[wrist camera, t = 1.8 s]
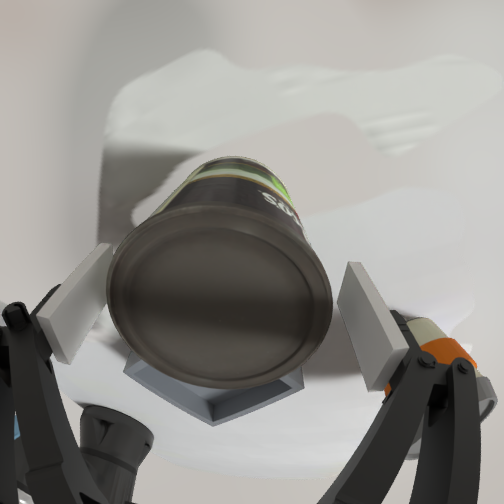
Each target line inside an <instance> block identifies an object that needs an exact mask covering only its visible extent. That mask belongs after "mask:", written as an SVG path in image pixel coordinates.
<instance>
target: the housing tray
mask: <svg viewBox="0 0 504 504" xmlns="http://www.w3.org/2000/svg"><path fill="white" fill-rule="evenodd" d="M123 373H125V374H126V375H128V376H129V377H130V378H132V379H133V380H135V381H136V382H138V383H139V384H141V385H142V386H144V387H145V388H147V389H148V390H150V391H151V392H153V393H155V394H156V395H158V396H159V397H161V398H163V399H164V400H166V401H168V402H169V403H171V404H173V405H174V406H176V407H178V408H179V409H181V410H183V411H185V412H186V413H188V414H190V415H192V416H194V417H196V418H197V419H199V420H201V421H203V422H205V423H207V424H209V425H211V426H216V425H219V424H222V423H225V422H227V421H230V420H233V419H235V418H238V417H241V416H243V415H246V414H248V413H251V412H253V411H255V410H258V409H260V408H263V407H265V406H267V405H270V404H272V403H274V402H276V401H279V400H281V399H283V398H285V397H287V396H289V395H291V394H294V393H296V392H298V391H300V390H302V389H304V388H305V387H304V381H303V375H302V369H301V366H300V367H299V368H297V369H296V370H295V371H293V372H291V373H290V374H288V375H286V376H284V377H282V378H280V379H278V380H275V381H272V382H270V383H267V384H264V385H260V386H256V387H251V388H245V389H232V390H223V389H212V388H206V387H199V386H195V385H191V384H187V383H184V382H181V381H179V380H176V379H173V378H171V377H169V376H167V375H165V374H163V373H161V372H159V371H158V370H156V369H154V368H153V367H151V366H150V365H148V364H147V363H146V362H144V361H143V360H142V359H141V358H139V357H138V356H137V355H136V354H135V353H134V352H133V351H131V353H130V355H129V358H128V360H127V363H126V365H125V368H124V370H123Z"/></svg>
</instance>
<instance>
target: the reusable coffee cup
mask: <svg viewBox="0 0 504 504" xmlns="http://www.w3.org/2000/svg"><path fill="white" fill-rule="evenodd" d="M406 323H407V325H408V327H409V328H410V331H411V332H412V334H413V335H414V337H415V339H416V341H417V343H418V344H419V346H420V348H421V350H422V351H426V352H429V353H430V354H432V355H433V356H434V357H435V358H436V359H437V362H438V363H442V364H449V365H450V364H451V363H452V362H453V360H454V359H455V358H457V357H463V358H465V359H467V360H468V361H470V362H471V363H472V365H473V366H474V369H475V374H476V382H477V390H478V399H479V411H480V424H481V423H482V422H483V421H484V420H485V419H486V418H487V417H488V415H489V414H490V413H491V412H492V411H493V409H494V408H495V406H496V404H497V396H496V394H495V392H494V389H493V387H492V385H491V382H490V380H489V379H488V378H487V377H484V376H482V375H481V374H480V372H479V371H478V370H477V364H476V363H475V361H474V360H473V359H472V358H471V357H470V356H469V354H468V353H467V352H466V351H465V350H464V349H463V348H462V347H461V346H460V345H459V344H458V342H457V341H456V340H455V339H452V338H448V337H447V336H446V334H445V333H444V332H443V331H442V330H441V329H440V328H439V327H438V326H437V325H436V324H435V323H434V322H433V321H432V320H430V319H428V318H417V319H413V320H411V321H408V322H406ZM390 390H391V387H390V384H389V383H388V384H387V386H386V387H385V389H384V391H385V396H387V395H388V393H389V392H390ZM423 420H424V414H423V417H422V420H421V422H420V425H419V428H418V430H417V433H416V435H415V437H414V440H413V442H412V445H411V447H410V449H409V451H408V454H407V456H406V458H405V460H415V459H419V453H420V446H421V438H422V430H423Z"/></svg>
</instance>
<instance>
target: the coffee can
mask: <svg viewBox="0 0 504 504" xmlns="http://www.w3.org/2000/svg"><path fill="white" fill-rule="evenodd" d="M106 298H107V305H108V309H109V313H110V316H111V318H112V321H113V323H114V325H115V327H116V329H117V331H118V332H119V334H120V336H121V337H122V338H123V340H124V341H125V343H126V344H127V345H128V346H129V348H130V349H131V350H132V351H133V352H134V353H135V354H136V355H137V356H138V357H139V358H141V359H142V360H143V361H144V362H146V363H147V364H148V365H150V366H151V367H153V368H154V369H156V370H158V371H159V372H161V373H163V374H165V375H167V376H169V377H171V378H173V379H176V380H179V381H181V382H184V383H187V384H191V385H195V386H199V387H206V388H212V389H223V390H232V389H245V388H251V387H256V386H260V385H264V384H267V383H270V382H272V381H275V380H278V379H280V378H282V377H284V376H286V375H288V374H290V373H291V372H293V371H295V370H296V369H297V368H299V367H300V366H302V365H303V364H304V363H305V362H306V361H307V360H308V359H310V357H311V356H312V355H313V354H314V353H315V351H316V350H317V349H318V347H319V346H320V344H321V343H322V341H323V339H324V337H325V335H326V333H327V331H328V328H329V326H330V322H331V319H332V311H333V298H332V291H331V286H330V283H329V279H328V277H327V274H326V272H325V270H324V267H323V265H322V263H321V261H320V260H319V258H318V257H317V255H316V253H315V252H314V251H313V249H312V247H311V244H310V242H309V240H308V237H307V235H306V233H305V230H304V228H303V226H302V224H301V222H300V219H299V217H298V215H297V213H296V211H295V208H294V206H293V204H292V201H291V199H290V195H289V192H288V190H287V188H286V186H285V184H284V183H283V181H282V180H281V179H280V178H279V176H278V175H277V174H276V173H275V172H273V171H272V170H271V169H270V168H268V167H267V166H265V165H264V164H262V163H260V162H258V161H256V160H253V159H250V158H246V157H238V156H228V157H221V158H217V159H214V160H211V161H209V162H206V163H204V164H203V165H201V166H199V167H198V168H197V169H196V170H194V171H193V172H192V173H191V175H189V176H188V178H187V179H186V180H185V181H184V182H183V183H182V184H181V185H180V186H179V187H178V188H177V189H176V190H175V191H174V192H173V193H172V194H171V195H170V196H169V197H168V198H167V199H166V200H165V201H164V202H163V203H162V204H161V205H160V206H159V207H158V208H157V209H156V210H155V211H154V212H153V214H152V215H151V216H150V217H149V218H148V219H147V220H145V221H144V222H143V223H142V224H140V225H139V226H138V227H136V228H135V229H134V230H133V231H132V232H131V233H130V234H129V235H128V236H127V237H126V238H125V239H124V241H123V242H122V243H121V245H120V246H119V247H118V249H117V250H116V252H115V254H114V256H113V259H112V261H111V263H110V266H109V269H108V274H107V279H106Z"/></svg>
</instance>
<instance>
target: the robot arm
mask: <svg viewBox="0 0 504 504" xmlns="http://www.w3.org/2000/svg"><path fill="white" fill-rule="evenodd" d="M112 259H113V250H112V244H108V243H100V244H99V245H98V246H97V247H96V248H95V249H94V250H93V251H92V252H91V253H90V254H89V255H88V256H87V257H86V258H85V259H84V260H83V261H82V263H81V264H80V265H79V266H78V267H77V268H76V269H75V270H74V271H73V272H72V273H71V275H70V276H69V277H68V278H67V279H66V280H65V281H64V282H63V283H62V284H58V285H57V286H55V287H54V288H53V289H51V290H50V291H49V292H48V294H47V295H46V296H45V297H44V298H43V299H42V301H41V302H40V303H39V304H38V305H37V306H36V308H35V309H34V310H33V311H32V313H31V314H30V315H29V313H28V311H27V309H26V306H25V304H24V303H22V302H14V303H11V304H9V305H8V306H7V307H5V309H4V310H3V312H2V317H3V319H4V321H5V323H6V325H7V326H0V504H135V503H132V502H131V501H132V496H133V490H134V485H135V480H136V475H137V470H138V467H139V466H140V464H141V463H142V461H143V460H144V459H145V457H146V456H147V454H148V453H149V451H150V450H151V448H152V445H153V440H154V436H153V434H152V432H151V431H150V430H149V429H148V428H147V427H145V426H144V425H143V424H141V423H140V422H138V421H136V420H134V419H133V418H131V417H129V416H127V415H124V414H122V413H120V412H117V411H114V410H111V409H108V408H104V407H98V406H88V407H86V408H85V409H84V410H83V413H82V415H81V418H80V447H78V445H77V443H76V440H75V437H74V435H73V432H72V430H71V427H70V424H69V421H68V418H67V415H66V412H65V409H64V406H63V403H62V399H61V396H60V392H59V389H58V385H57V381H56V378H55V374H54V369H53V365H52V362H51V360H50V356H51V354H52V353H53V354H54V356H55V358H56V360H57V361H58V362H62V363H65V364H68V365H70V364H71V362H72V360H73V358H74V357H75V355H76V353H77V351H78V349H79V348H80V346H81V344H82V343H83V341H84V339H85V337H86V336H87V334H88V332H89V331H90V329H91V327H92V326H93V324H94V322H95V321H96V319H97V318H98V316H99V314H100V313H101V311H102V310H103V308H104V306H105V305H106V303H107V298H106V279H107V274H108V269H109V266H110V263H111V261H112ZM337 304H338V307H339V309H340V312H341V315H342V317H343V320H344V323H345V325H346V328H347V331H348V334H349V337H350V339H351V342H352V345H353V348H354V351H355V354H356V357H357V360H358V362H359V365H360V368H361V371H362V374H363V378H364V381H365V384H366V387H367V390H368V392H376V391H383V390H384V389H385V387H386V386H387V384H388V383H389V384H390V387H391V390H390V392H389V393H388V395H387V396H386V397H385V399H384V400H383V402H382V403H383V405H382V407H381V408H380V410H379V412H378V414H377V416H376V418H375V419H374V421H373V423H372V425H371V426H370V428H369V430H368V431H367V433H366V435H365V436H364V438H363V440H362V441H361V443H360V445H359V446H358V448H357V449H356V451H355V452H354V454H353V455H352V457H351V458H350V460H349V461H348V463H347V464H346V466H345V467H344V469H343V470H342V471H341V473H340V474H339V476H338V477H337V479H336V480H335V481H334V483H333V484H332V485H331V486H330V488H329V489H328V490H327V492H326V493H325V495H323V497H322V498H321V499H320V500H319V502H318V503H317V504H381V503H382V501H383V500H384V498H385V496H386V494H387V493H388V491H389V489H390V487H391V485H392V483H393V482H394V480H395V478H396V476H397V474H398V472H399V470H400V468H401V466H402V464H403V462H404V460H405V458H406V456H407V454H408V451H409V449H410V447H411V445H412V442H413V440H414V437H415V435H416V433H417V430H418V428H419V425H420V422H421V420H422V417H423V414H424V420H423V430H422V438H421V446H420V453H419V459H418V465H417V471H416V476H415V481H414V485H413V490H412V494H411V498H410V502H409V504H477V500H478V490H479V480H480V463H481V431H480V411H479V399H478V390H477V382H476V374H475V369H474V366H473V365H472V363H471V362H470V361H468V360H467V359H465V358H463V357H457V358H455V359H454V360H453V362H452V363H451V364H450V365H449V364H442V363H438V362H437V359H436V358H435V357H434V356H433V355H432V354H430V353H429V352H426V351H422V350H421V348H420V346H419V344H418V343H417V341H416V339H415V337H414V335H413V334H412V332H411V331H410V328H409V327H408V325H407V323H406V322H405V320H404V318H403V317H402V316H401V315H400V314H399V313H398V312H397V311H396V310H389V309H388V307H387V306H386V304H385V302H384V300H383V299H382V297H381V295H380V294H379V292H378V290H377V288H376V287H375V285H374V283H373V282H372V280H371V279H370V277H369V275H368V274H367V272H366V270H365V269H364V267H363V266H362V264H361V262H348V264H347V268H346V271H345V275H344V279H343V282H342V286H341V289H340V293H339V296H338V300H337ZM15 411H16V415H15Z"/></svg>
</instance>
